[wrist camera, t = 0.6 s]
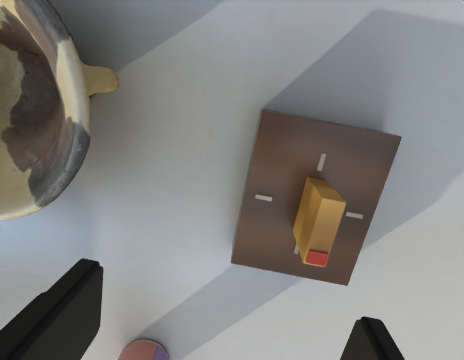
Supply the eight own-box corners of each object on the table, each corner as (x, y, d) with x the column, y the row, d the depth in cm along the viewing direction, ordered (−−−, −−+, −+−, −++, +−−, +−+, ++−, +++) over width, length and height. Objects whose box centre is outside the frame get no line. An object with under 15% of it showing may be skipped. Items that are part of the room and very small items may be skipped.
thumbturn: (307, 176, 22) (323, 199, 17) (326, 180, 22) (348, 203, 17) (292, 230, 24) (303, 265, 19) (310, 233, 24) (326, 269, 19)
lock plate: (261, 108, 24) (262, 110, 21) (384, 132, 24) (403, 137, 21) (232, 246, 28) (230, 264, 25) (337, 267, 28) (348, 287, 25)
